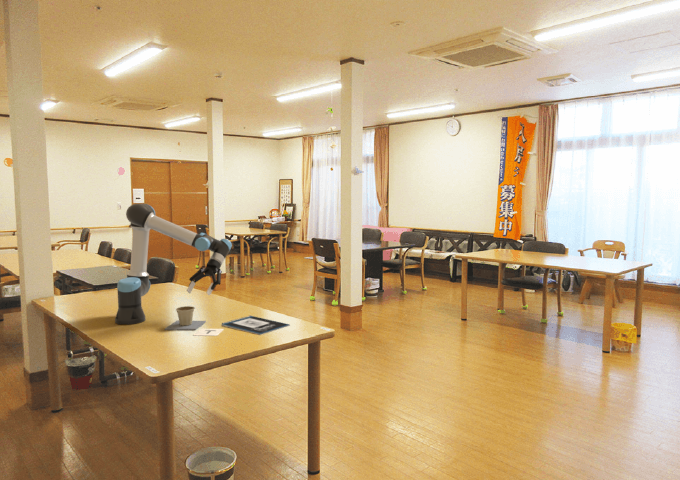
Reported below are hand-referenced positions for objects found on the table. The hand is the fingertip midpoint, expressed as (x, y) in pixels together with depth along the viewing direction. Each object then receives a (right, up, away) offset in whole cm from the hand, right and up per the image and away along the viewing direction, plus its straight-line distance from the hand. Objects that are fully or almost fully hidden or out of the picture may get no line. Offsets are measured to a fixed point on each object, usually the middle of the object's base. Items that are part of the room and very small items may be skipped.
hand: (197, 293), depth 249 cm
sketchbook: (+32, -17, -6) cm, 37 cm away
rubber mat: (-4, -17, -7) cm, 19 cm away
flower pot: (-4, -16, -7) cm, 18 cm away
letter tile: (+11, -18, -19) cm, 28 cm away
